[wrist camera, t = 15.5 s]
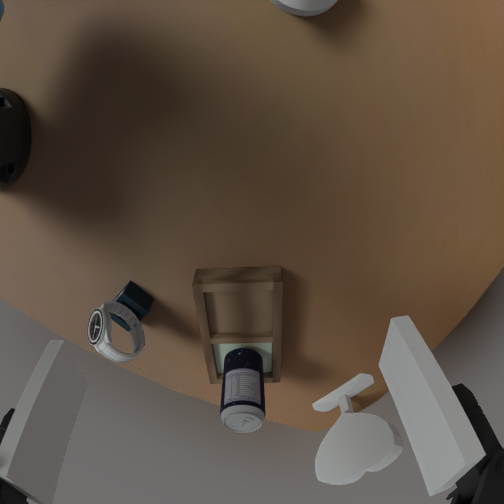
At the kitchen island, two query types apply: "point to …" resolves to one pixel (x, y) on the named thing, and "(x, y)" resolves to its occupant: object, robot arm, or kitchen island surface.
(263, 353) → the brown divided tray
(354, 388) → the heart sculpture
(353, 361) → the kitchen island surface
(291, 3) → the wall hook
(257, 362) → the beverage can
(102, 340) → the watch
